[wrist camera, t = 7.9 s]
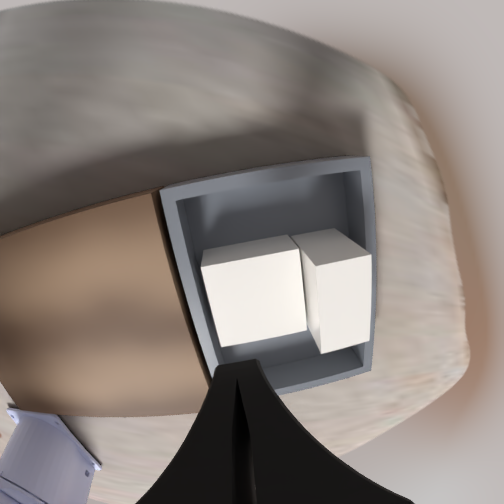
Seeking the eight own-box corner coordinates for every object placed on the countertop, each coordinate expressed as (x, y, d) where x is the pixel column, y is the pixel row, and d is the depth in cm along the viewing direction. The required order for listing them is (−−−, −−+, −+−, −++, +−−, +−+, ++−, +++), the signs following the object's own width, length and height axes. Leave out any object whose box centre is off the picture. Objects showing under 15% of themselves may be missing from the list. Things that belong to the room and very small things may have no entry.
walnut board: (216, 378, 19) (217, 410, 16) (33, 387, 18) (20, 410, 15) (164, 186, 15) (151, 193, 12) (-32, 248, 14) (-56, 262, 11)
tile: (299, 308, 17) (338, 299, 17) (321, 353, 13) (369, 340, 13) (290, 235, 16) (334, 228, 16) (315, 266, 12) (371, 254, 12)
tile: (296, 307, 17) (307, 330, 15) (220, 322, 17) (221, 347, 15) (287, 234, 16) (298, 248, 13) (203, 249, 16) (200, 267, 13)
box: (356, 348, 19) (371, 370, 17) (220, 378, 19) (221, 405, 16) (347, 155, 15) (369, 156, 13) (169, 184, 15) (159, 190, 12)
